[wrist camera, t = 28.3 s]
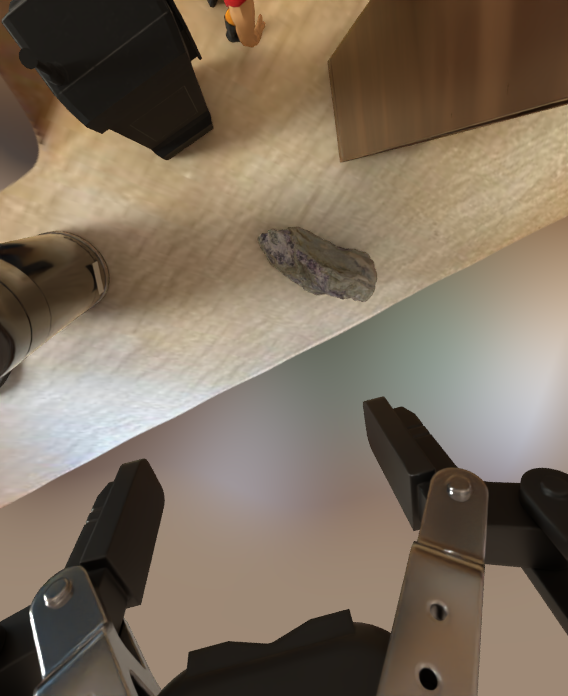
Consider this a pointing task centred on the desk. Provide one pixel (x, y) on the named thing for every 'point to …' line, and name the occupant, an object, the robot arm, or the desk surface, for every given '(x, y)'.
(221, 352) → the desk surface
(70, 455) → the desk surface
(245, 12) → the action figure
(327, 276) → the mineral rock
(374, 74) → the shelf
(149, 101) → the portable radio
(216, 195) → the desk surface
